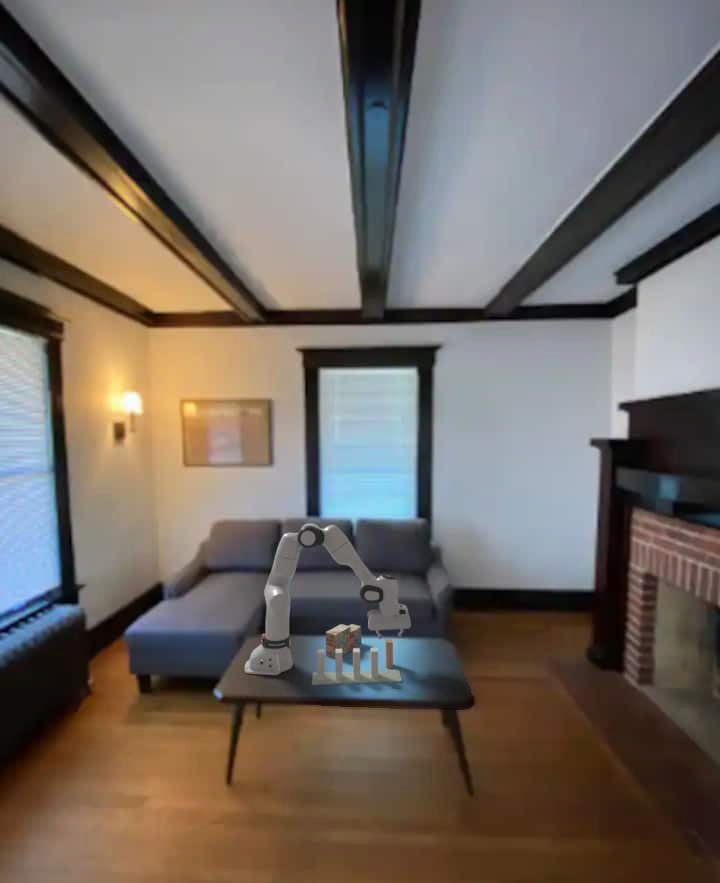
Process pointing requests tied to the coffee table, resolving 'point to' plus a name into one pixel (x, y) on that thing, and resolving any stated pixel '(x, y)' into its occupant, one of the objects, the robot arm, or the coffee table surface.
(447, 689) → the coffee table surface
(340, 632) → the stack of blocks
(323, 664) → the domino
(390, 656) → the domino
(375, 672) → the domino
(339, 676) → the domino
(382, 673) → the mat
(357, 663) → the domino
